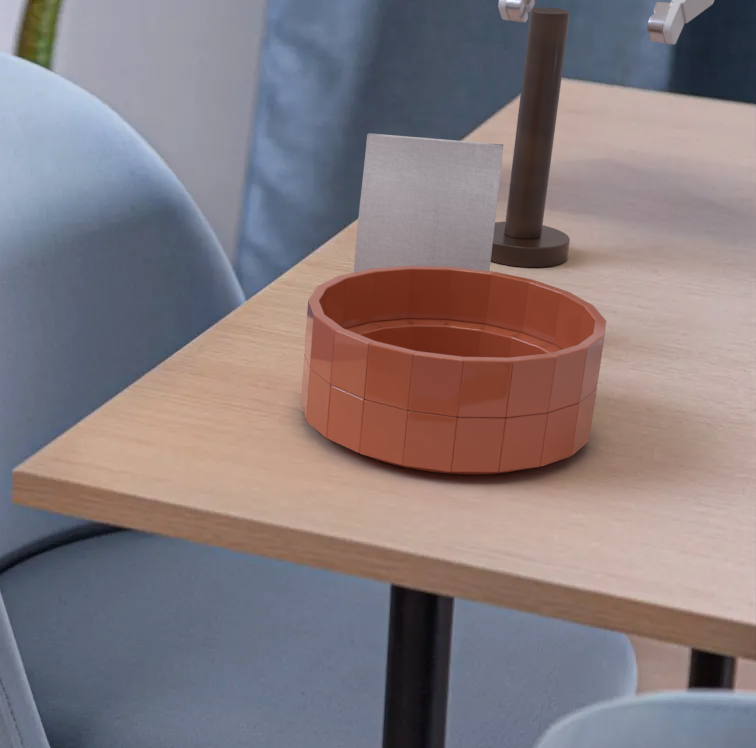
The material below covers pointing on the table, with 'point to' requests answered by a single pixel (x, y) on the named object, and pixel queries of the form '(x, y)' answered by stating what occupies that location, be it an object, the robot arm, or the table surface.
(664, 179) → the table surface
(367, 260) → the grey rectangular block
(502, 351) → the bowl
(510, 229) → the rod
